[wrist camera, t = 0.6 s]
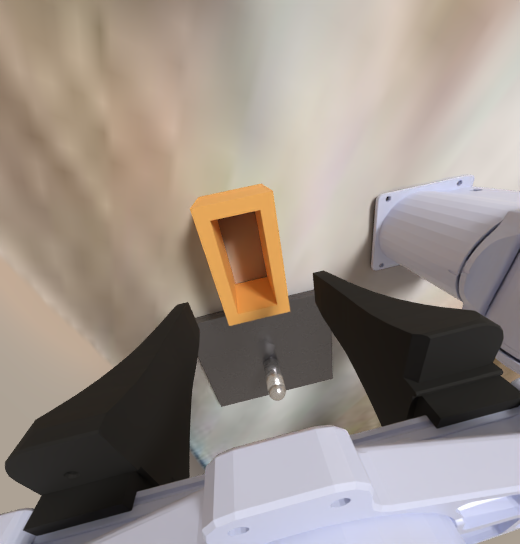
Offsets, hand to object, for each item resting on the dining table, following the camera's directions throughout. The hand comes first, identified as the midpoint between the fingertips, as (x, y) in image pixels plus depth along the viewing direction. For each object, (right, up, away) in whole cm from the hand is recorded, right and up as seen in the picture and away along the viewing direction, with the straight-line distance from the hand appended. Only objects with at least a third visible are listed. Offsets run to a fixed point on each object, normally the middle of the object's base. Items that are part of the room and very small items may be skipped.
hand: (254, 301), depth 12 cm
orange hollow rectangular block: (-1, +4, +8) cm, 9 cm away
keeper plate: (+1, -8, +15) cm, 17 cm away
